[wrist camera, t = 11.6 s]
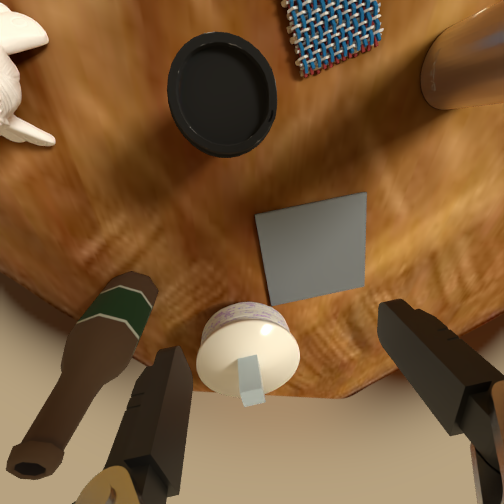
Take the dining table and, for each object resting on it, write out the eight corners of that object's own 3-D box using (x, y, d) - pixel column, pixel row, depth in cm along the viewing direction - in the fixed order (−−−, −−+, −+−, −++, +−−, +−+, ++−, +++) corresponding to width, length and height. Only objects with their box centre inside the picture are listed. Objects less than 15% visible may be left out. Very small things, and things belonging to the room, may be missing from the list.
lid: (292, 308, 35) (305, 341, 29) (302, 381, 42) (315, 419, 36) (183, 332, 35) (175, 370, 29) (211, 401, 42) (209, 443, 36)
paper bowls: (299, 306, 45) (313, 338, 38) (261, 362, 50) (267, 399, 43) (223, 278, 41) (223, 308, 34) (190, 342, 46) (184, 380, 39)
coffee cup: (245, 160, 33) (259, 175, 20) (183, 137, 31) (151, 137, 18) (266, 90, 30) (301, 52, 16) (198, 61, 28) (174, -9, 15)
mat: (364, 191, 37) (366, 192, 36) (362, 284, 44) (364, 286, 44) (254, 214, 36) (254, 215, 36) (270, 304, 44) (271, 306, 43)
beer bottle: (104, 269, 38) (-56, 446, 16) (156, 269, 39) (70, 436, 17) (114, 310, 41) (-8, 501, 19) (162, 308, 42) (95, 491, 20)
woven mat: (297, 83, 30) (302, 80, 29) (270, -30, 26) (273, -42, 24) (377, 48, 30) (388, 42, 28) (364, -74, 25) (375, -90, 23)
